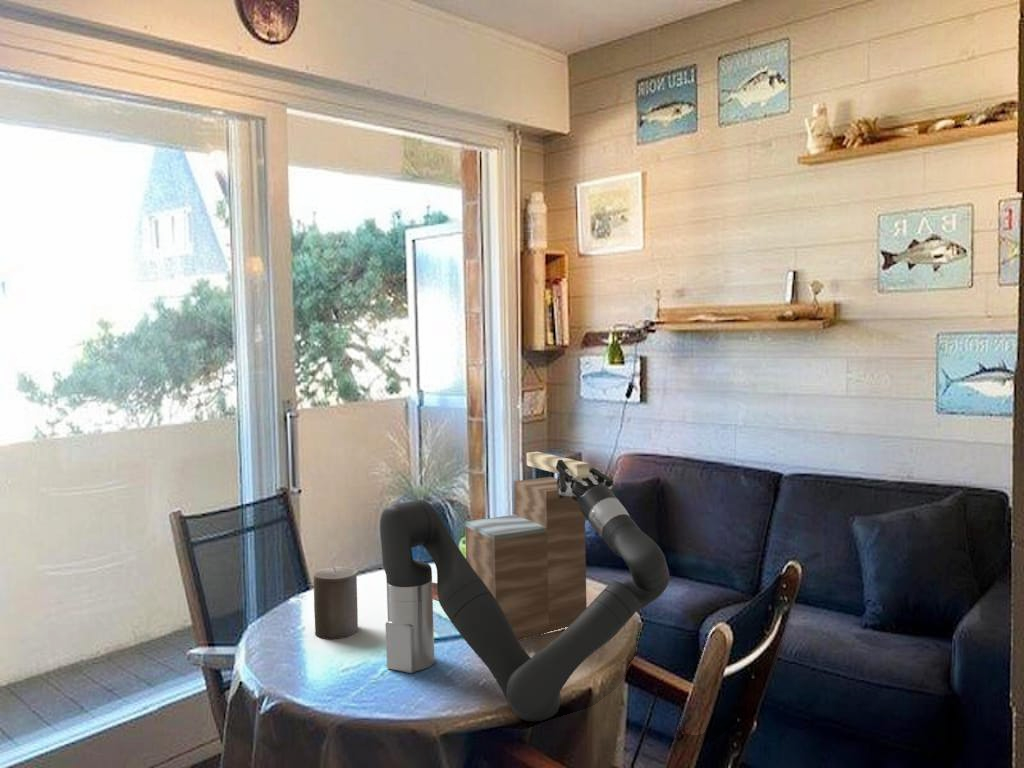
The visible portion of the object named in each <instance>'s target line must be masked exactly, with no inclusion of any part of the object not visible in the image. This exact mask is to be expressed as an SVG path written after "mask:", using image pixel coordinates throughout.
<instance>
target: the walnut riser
mask: <svg viewBox="0 0 1024 768" xmlns="http://www.w3.org/2000/svg"><path fill="white" fill-rule="evenodd" d="M557 479H558V478H556V477H552V476H547V477H538V478H530V479H522V480H521V479H520V480H514V481H513V484H514V485H513V486H514V487H513V488H514V489H513V490H514V514H512V515H503V516H495V517H490V518H489V517H488V518H482V519H475V520H474V519H473V520H467V521H464V527H465V528H464V530H465V531H464V532H465V534H464V535H465V538H464V539H465V558H466V560H467V561H468V563H469V564H470V565H471V567H472V568H473V570H474V571H475V572H476V573H477V575H478V576H479V577H480V578H481V580H482V581H483V582H484V584H485V585H486V586H487V588H488V589H489V590H490V592H491V593H492V595H493V596H494V597H495V599H496V601H497V602H498V604H499V605H500V607H501V609H502V610H503V612H504V614H505V616H506V618H507V620H508V622H509V624H510V626H511V628H512V630H513V632H514V634H515V636H516V638H517V639H518V640H519V641H522V640H521V639H523V640H525V639H524V638H528V639H530V638H529V637H532V638H534V637H533V636H536V637H538V636H537V635H541V634H544V633H547V632H550V631H554V630H558V629H561V628H565V627H569V626H570V625H571V624H572V623H573V622H574V621H575V620H576V619H577V618H578V617H579V616H580V614H581V613H582V612H583V611H584V610H585V609H586V608H587V607H588V606H587V568H586V567H587V556H586V555H587V554H586V553H587V552H586V517H585V516H584V515H583V513H582V512H581V510H580V508H579V505H578V503H577V502H576V501H575V500H573V499H572V498H571V496H565V495H564V498H559V497H558V490H557ZM566 485H567V484H566ZM541 636H542V635H541Z"/></svg>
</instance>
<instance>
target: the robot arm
mask: <svg viewBox="0 0 1024 768" xmlns="http://www.w3.org/2000/svg"><path fill="white" fill-rule="evenodd" d="M571 459H572V460H577V461H579V460H578V459H577V458H576V457H573V458H571ZM556 469H557V471H558V472H559V474H558V477H557V478H556V479H557V490H558V497H559V498H564V495H565V496H571V498H572V499H573V500H575V501H576V502H577V503H578V505H579V508H580V510H581V512H582V513H583V515H584V516H585V520H587V521H588V522H589V524H590V525H591V526H592V528H593V529H594V530H595V532H596V533H597V534H598V535H599V536H600V537H601V539H603V540H604V542H605V543H606V545H607V546H608V547H609V548H610V550H611V551H612V553H614V554H615V555H616V556H618V557H620V558H622V559H623V561H624V562H625V564H626V565H627V567H628V569H629V571H630V575H631V576H630V577H629V578H628V579H627V580H626V581H624V582H620V581H612V582H611V583H609V584H608V585H607V586H606V587H605V588H604V589H602V591H601V592H600V593H599V594H598V595H597V597H595V599H593V600H592V601H591V603H590V604H589V605H588V606H587V608H586V609H585V610H584V611H583V612H582V613H581V614H580V616H579V617H578V618H577V619H576V620H575V621H574V622H573V623H572V624H571V625H570V626H569V627H568V628H567V629H566V630H563V631H561V632H562V633H560V634H559V635H558V636H556V638H555V639H553V640H552V641H551V642H550V643H548V644H547V645H546V646H545V647H543V649H541V650H540V651H539V652H537V653H536V654H534V655H533V656H532V657H530V655H529V654H528V653H527V652H526V650H525V648H523V646H522V644H521V643H520V642H519V641H520V640H519V641H518V639H517V638H516V636H515V634H514V632H513V630H512V628H511V626H510V624H509V622H508V620H507V618H506V616H505V614H504V612H503V610H502V609H501V607H500V605H499V604H498V602H497V601H496V599H495V597H494V596H493V595H492V593H491V592H490V590H489V589H488V588H487V586H486V585H485V584H484V582H483V581H482V580H481V578H480V577H479V576H478V575H477V573H476V572H475V571H474V570H473V568H472V567H471V565H470V564H469V563H468V561H467V560H466V556H465V555H464V554H463V552H462V551H461V549H460V548H459V547H458V545H457V544H456V542H455V540H454V538H453V536H452V535H451V533H450V532H449V530H448V528H447V526H446V525H445V523H444V521H443V519H442V518H441V516H440V514H439V513H438V511H437V510H436V508H434V506H433V505H432V504H431V503H429V502H428V501H426V500H424V499H415V500H410V501H404V502H400V503H395V504H391V505H388V506H386V507H385V508H383V510H382V512H381V515H380V520H379V534H380V545H381V557H382V565H383V569H384V573H385V577H386V578H385V579H386V602H387V603H386V604H387V605H386V607H387V608H386V609H387V621H386V622H385V624H384V625H385V646H386V647H385V648H386V649H385V652H386V669H390V670H394V671H399V672H404V673H409V674H413V673H415V672H418V671H422V670H425V669H427V668H430V667H432V665H434V663H435V636H434V635H435V634H434V631H435V630H434V602H433V600H434V599H433V595H432V582H433V570H432V566H431V564H430V563H428V562H425V561H421V560H416V559H414V557H413V556H414V555H413V550H412V549H413V548H417V547H419V546H422V548H424V550H426V551H427V552H426V553H428V554H429V556H430V557H431V559H432V561H433V563H434V565H435V568H436V576H437V577H436V580H437V582H436V583H437V591H438V599H439V601H438V602H439V605H440V607H441V608H442V611H443V612H444V614H445V615H446V616H447V618H448V619H449V621H450V622H451V623H452V625H453V627H454V628H455V629H456V631H457V632H458V633H459V635H460V636H461V637H462V638H463V640H464V641H465V642H466V643H467V644H468V646H469V647H470V648H471V650H472V651H473V652H474V653H475V654H476V655H477V657H478V658H479V659H480V660H481V661H482V662H483V663H484V665H485V666H486V667H487V668H488V670H489V672H491V674H492V676H493V678H494V679H495V681H496V683H497V684H498V686H499V688H500V691H502V693H503V695H504V697H505V699H506V701H507V703H508V705H509V708H510V710H511V712H512V713H513V715H515V717H517V718H518V719H521V720H523V721H525V722H530V723H531V722H541V721H542V722H543V721H546V720H547V719H550V718H552V717H553V716H555V715H556V714H557V713H558V712H559V709H560V705H561V690H562V689H563V688H564V686H565V685H566V683H567V681H568V680H569V679H570V678H571V676H572V675H573V673H574V672H575V671H576V670H577V669H578V667H579V666H580V665H581V664H582V663H584V661H585V660H586V659H588V658H589V657H590V656H591V655H592V654H593V653H595V652H596V651H598V650H599V649H600V648H602V647H603V646H605V645H606V644H607V643H608V642H609V641H611V640H612V639H613V638H614V637H615V635H617V633H619V632H620V631H621V630H622V628H623V627H624V626H625V625H626V624H627V623H628V622H629V621H630V620H631V618H633V616H634V615H635V614H636V613H637V612H638V611H640V610H642V609H644V608H645V607H646V606H648V605H649V604H651V603H652V602H653V601H656V599H658V598H659V597H660V596H661V595H662V594H663V593H664V592H665V590H666V589H667V587H668V585H669V583H670V579H671V577H670V570H669V567H668V563H667V560H666V556H665V553H664V552H663V550H662V549H661V547H660V546H659V545H658V544H657V542H655V541H654V539H652V538H651V537H650V536H648V534H646V533H645V532H644V531H642V530H641V529H640V527H639V526H638V525H637V523H636V522H635V520H634V519H633V518H632V516H631V515H630V514H629V513H628V511H627V509H626V508H625V507H624V505H623V504H622V503H621V502H620V500H619V499H618V498H617V497H616V495H615V494H614V493H613V492H612V489H613V485H614V482H615V481H614V480H613V479H611V478H610V477H609V476H607V475H605V474H604V473H602V472H600V471H599V470H598V469H596V468H594V467H591V468H590V469H589V475H588V477H587V478H580V477H577V476H576V475H574V474H573V473H572V472H571V471H570V470H569V468H568V467H567V466H566V465H565V463H564V462H563V460H558V462H557V465H556ZM595 476H597V477H595ZM566 484H567V485H566Z"/></svg>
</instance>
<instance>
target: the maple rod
mask: <svg viewBox="0 0 1024 768" xmlns="http://www.w3.org/2000/svg"><path fill="white" fill-rule="evenodd" d="M558 460H563V462H564V463H565V465H566V466H567V467H568V468H569V470H570V471H571V472H572V473H573V474H574V475H576V476H577V477H580V478H587V477H588V475H589V470H590V463H589V462H584V461H580V460H578V459H577V460H578V461H577V460H572V458H568V457H563V456H558V455H555V454H550V453H545V452H540V451H534V452H533V451H532V452H526V466H528V467H532V468H535V469H538V470H542V471H547V472H550V473H555V474H558V475H559V472H558V471H557V469H556V465H557V462H558Z"/></svg>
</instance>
